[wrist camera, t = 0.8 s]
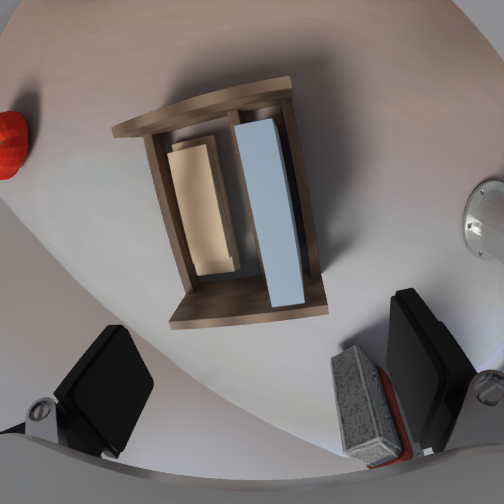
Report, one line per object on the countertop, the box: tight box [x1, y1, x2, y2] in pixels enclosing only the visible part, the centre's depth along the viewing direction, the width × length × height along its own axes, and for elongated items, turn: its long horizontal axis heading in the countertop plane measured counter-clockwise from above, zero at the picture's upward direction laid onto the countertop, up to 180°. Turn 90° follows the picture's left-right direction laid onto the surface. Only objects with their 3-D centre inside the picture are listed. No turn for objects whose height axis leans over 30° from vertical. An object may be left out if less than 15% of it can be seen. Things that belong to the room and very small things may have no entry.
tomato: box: [0, 111, 28, 180], centre depth 33 cm, size 13×12×8 cm
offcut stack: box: [168, 135, 242, 276], centre depth 36 cm, size 6×18×5 cm, turn 10°
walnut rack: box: [111, 76, 329, 330], centre depth 33 cm, size 19×24×10 cm
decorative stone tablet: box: [331, 344, 424, 469], centre depth 38 cm, size 19×6×30 cm
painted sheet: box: [234, 118, 305, 307], centre depth 30 cm, size 3×16×14 cm, turn 12°
